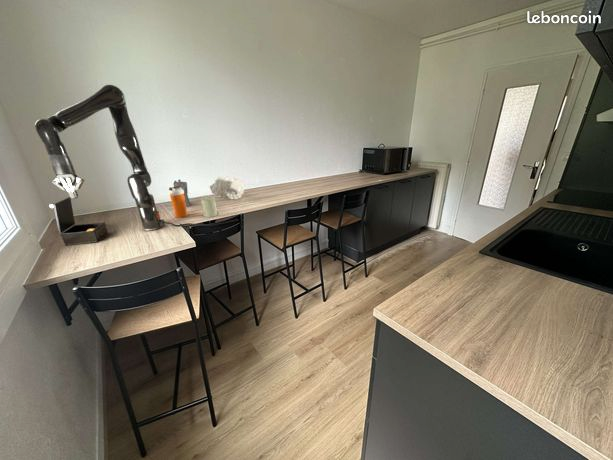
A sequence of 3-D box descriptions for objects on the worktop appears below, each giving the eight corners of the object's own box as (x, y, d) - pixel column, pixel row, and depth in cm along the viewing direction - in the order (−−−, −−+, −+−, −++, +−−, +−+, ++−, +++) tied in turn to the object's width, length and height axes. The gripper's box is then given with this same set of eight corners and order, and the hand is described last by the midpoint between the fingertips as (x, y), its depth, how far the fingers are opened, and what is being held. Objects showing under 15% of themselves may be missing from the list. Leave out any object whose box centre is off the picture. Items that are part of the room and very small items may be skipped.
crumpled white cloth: (223, 199, 218) (244, 202, 206) (206, 195, 203) (228, 198, 191) (227, 178, 218) (248, 180, 206) (210, 173, 203) (232, 174, 191)
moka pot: (184, 208, 183) (178, 181, 175) (172, 205, 191) (165, 179, 183) (195, 205, 191) (190, 179, 183) (183, 202, 198) (177, 177, 190)
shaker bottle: (191, 214, 172) (185, 186, 164) (180, 218, 165) (174, 189, 157) (182, 212, 176) (176, 184, 168) (171, 217, 168) (164, 187, 160)
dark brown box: (108, 233, 145) (104, 222, 142) (97, 242, 134) (93, 231, 131) (79, 235, 142) (74, 224, 139) (65, 245, 131) (60, 234, 128)
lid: (70, 197, 133) (59, 196, 132) (55, 204, 122) (43, 203, 121) (75, 224, 139) (64, 223, 138) (60, 233, 128) (49, 232, 127)
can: (200, 214, 172) (197, 197, 167) (213, 211, 178) (210, 195, 173) (207, 218, 166) (204, 200, 161) (220, 214, 172) (217, 197, 167)
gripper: (39, 165, 117) (54, 201, 124) (73, 164, 120) (86, 199, 127) (50, 163, 124) (64, 196, 131) (81, 162, 126) (93, 195, 133)
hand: (74, 198), depth 129 cm, fingers closed
